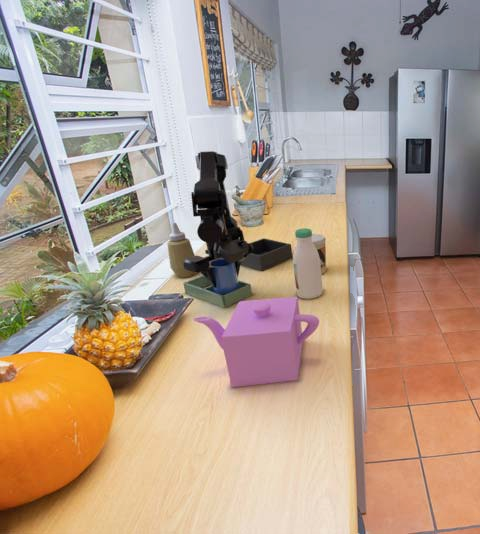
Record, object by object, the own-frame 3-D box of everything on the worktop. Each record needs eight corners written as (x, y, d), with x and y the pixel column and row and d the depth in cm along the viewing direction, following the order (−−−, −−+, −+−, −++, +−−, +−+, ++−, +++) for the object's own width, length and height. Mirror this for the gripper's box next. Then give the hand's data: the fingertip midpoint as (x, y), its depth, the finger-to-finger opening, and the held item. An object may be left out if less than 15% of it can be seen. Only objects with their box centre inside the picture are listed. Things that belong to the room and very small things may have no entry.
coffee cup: (322, 277, 128) (318, 242, 123) (295, 275, 130) (291, 241, 125) (332, 266, 136) (329, 234, 132) (307, 265, 138) (304, 232, 133)
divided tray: (185, 293, 118) (183, 282, 116) (213, 281, 125) (211, 272, 124) (224, 307, 109) (222, 296, 107) (252, 294, 116) (250, 284, 115)
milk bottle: (327, 290, 119) (322, 227, 111) (314, 301, 112) (307, 235, 104) (305, 286, 121) (299, 225, 114) (291, 297, 114) (283, 232, 107)
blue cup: (210, 298, 114) (203, 264, 109) (230, 290, 119) (224, 256, 115) (225, 304, 110) (218, 268, 106) (245, 295, 116) (239, 261, 112)
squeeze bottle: (204, 272, 133) (193, 221, 126) (183, 280, 126) (170, 227, 119) (188, 268, 136) (176, 218, 129) (167, 276, 129) (153, 225, 122)
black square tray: (234, 263, 140) (231, 249, 138) (265, 251, 152) (263, 238, 149) (261, 271, 133) (259, 256, 131) (292, 258, 145) (291, 244, 142)
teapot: (215, 348, 90) (203, 294, 85) (323, 337, 94) (318, 285, 89) (193, 391, 77) (177, 330, 71) (321, 377, 80) (315, 318, 75)
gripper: (202, 246, 96) (214, 302, 102) (262, 227, 111) (269, 277, 117) (176, 239, 101) (189, 293, 107) (236, 222, 116) (245, 270, 122)
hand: (225, 283), depth 113 cm, fingers closed on blue cup, 7 cm apart
